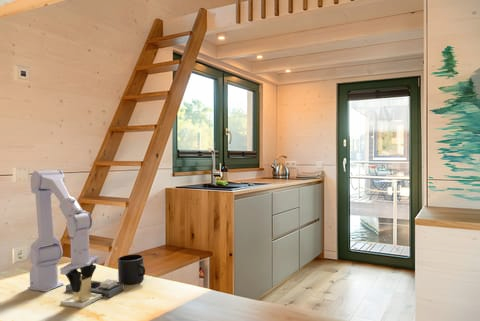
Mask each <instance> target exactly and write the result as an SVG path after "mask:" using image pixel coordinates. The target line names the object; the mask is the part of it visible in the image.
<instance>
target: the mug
mask: <svg viewBox="0 0 480 321" xmlns="http://www.w3.org/2000/svg"><path fill="white" fill-rule="evenodd" d="M117 267H118V268H117V277H118V280H117V281H118V283H119V284H120V285H136V284H138V283H141V282H143V281H144V280H145V279H144V278H145V274H146V268H145V266H144V256H143V255H142V254H135V253H134V254H127V255H123V256H119V257H118V258H117Z"/></svg>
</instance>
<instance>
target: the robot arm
mask: <svg viewBox="0 0 480 321" xmlns="http://www.w3.org/2000/svg"><path fill="white" fill-rule="evenodd" d="M65 177H66V176H65V174H64V171H63V170H62V169H53V170H33V172H32V173H31V176H30V177H29V178H30V190H31V191H30V192H31V193H32V194H34V195H35V204H36V207H35V208H36V219H37V234H38V238H37V239H35V241H34V242H32V243H31V244H30V252H29V260H30V263H31V264H32V265H31V267H30V269H29V286H28V287H27V289H28V290H33V291H40V292H48V291H51V290H54V289H56V288H59V287H60V286H63V285H64V282H59V271H60V275H63V276H64V275H65V276H66V278H67V279H68V281H69V284H71V287H72V290H73V292H79V288H80V277H81V276H89V277H91V279H92V278H93V275H94V272H95V270H96V269H97V265H96V264H97V263H99V262H100V261H99V258H100V256H91V257H90V232H89V231H90V228H92V226H93V218H92V215H91V213H90V212H89V211H86V210H83V208H82V206H81V205H80V204H79V202H78V201H77V199H76V198H75V197H73V196H71V195H70V194H69V191H68V189H67V187H66V186H65V182H66V181H65V180H66V178H65ZM52 194H54V196H55V197H56V199H57V200H58V201H59V206H58V207H59V209H60V210H61V213H62V214H63V216H64V218H65V219H66V222H65V225H66V228H67V232H68V234H67V235H68V237H70V239H69V240H70V262H69V263H68V264H66V265H64V266H62V267H60V268H58V266H59V265H58V263H60V260H61V259H62V258H63V255H64V254H63V253H64V252H63V247H62V243H61V240H60V239H58V238H57V237H55V236H54V224H53V211H52V210H53V209H52ZM59 269H60V270H59ZM79 270H80V271H79ZM73 292H72V293H73Z"/></svg>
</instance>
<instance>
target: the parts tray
mask: <svg viewBox="0 0 480 321" xmlns="http://www.w3.org/2000/svg"><path fill="white" fill-rule="evenodd" d="M102 298H103V297H102V294H95V293H91V298H89V299H87V300H85V301H83V302H80V301H75V300H73V295H70V296H69V297H66V298H64V299H61V300H60V306H66V307H72V308H77V309H83V308H84V307H87V306H88V305H91V304H93V303H94V302H96V301H98V300H101V299H102Z"/></svg>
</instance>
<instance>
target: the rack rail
mask: <svg viewBox="0 0 480 321" xmlns="http://www.w3.org/2000/svg"><path fill="white" fill-rule="evenodd" d="M65 292H71V293H73V290H72V287H71V284H70V283H69V284H66V285H65ZM122 292H124V284H120V283H119V284H118V280H117V279H116V280H115V279H110V278H109V279H106V280H103V281H97V280H91V293H95V294H102V298H109V299H111V298H112V297H114V296H116V295H118V294H120V293H122Z"/></svg>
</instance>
